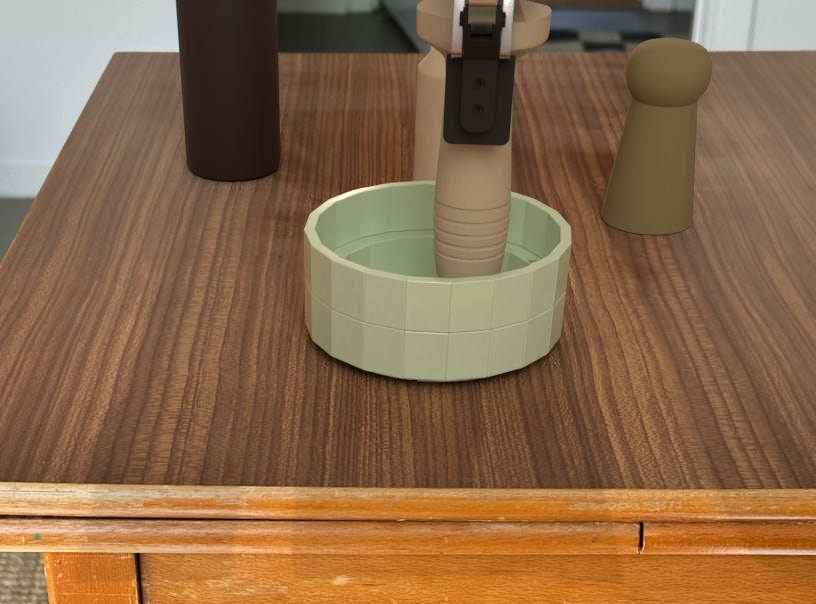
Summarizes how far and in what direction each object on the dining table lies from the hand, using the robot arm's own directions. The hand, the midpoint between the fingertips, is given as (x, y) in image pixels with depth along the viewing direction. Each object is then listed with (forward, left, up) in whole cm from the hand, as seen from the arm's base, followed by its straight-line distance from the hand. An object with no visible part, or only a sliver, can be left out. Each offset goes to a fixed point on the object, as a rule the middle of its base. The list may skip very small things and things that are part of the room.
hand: (478, 119), depth 66 cm
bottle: (+18, -26, -12) cm, 34 cm away
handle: (0, 0, -10) cm, 10 cm away
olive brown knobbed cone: (-11, -20, -12) cm, 26 cm away
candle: (+2, -22, -12) cm, 25 cm away
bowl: (+2, -1, -12) cm, 12 cm away
